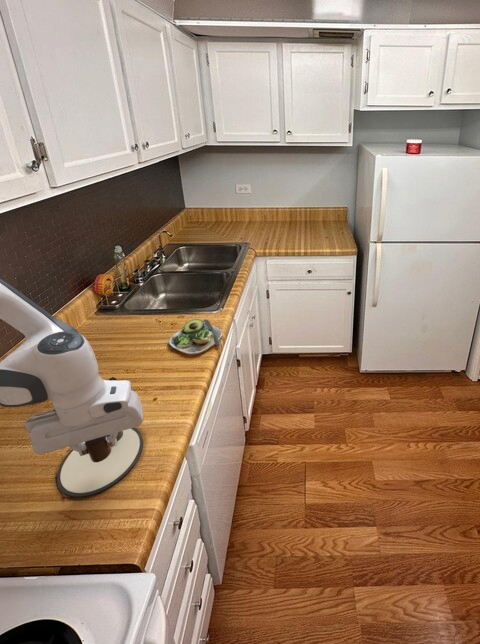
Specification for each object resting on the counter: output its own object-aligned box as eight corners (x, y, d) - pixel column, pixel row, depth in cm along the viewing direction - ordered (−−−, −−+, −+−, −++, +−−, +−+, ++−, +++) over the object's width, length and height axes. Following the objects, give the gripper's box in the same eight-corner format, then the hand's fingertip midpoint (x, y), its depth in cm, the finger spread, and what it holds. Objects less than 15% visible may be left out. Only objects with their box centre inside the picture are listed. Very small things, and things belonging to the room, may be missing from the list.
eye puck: (89, 465, 73) (82, 449, 71) (93, 449, 76) (87, 433, 74) (109, 458, 74) (104, 443, 72) (112, 443, 77) (107, 427, 75)
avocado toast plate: (236, 336, 125) (235, 326, 123) (199, 364, 111) (197, 353, 109) (201, 320, 135) (200, 311, 133) (162, 345, 120) (160, 334, 119)
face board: (45, 511, 70) (44, 509, 70) (69, 439, 86) (68, 437, 86) (139, 479, 76) (139, 477, 76) (145, 417, 92) (145, 415, 92)
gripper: (14, 431, 63) (38, 479, 68) (134, 399, 70) (147, 445, 75) (27, 406, 68) (48, 452, 73) (137, 378, 75) (149, 422, 80)
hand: (99, 448), depth 74 cm, fingers closed on eye puck, 4 cm apart
